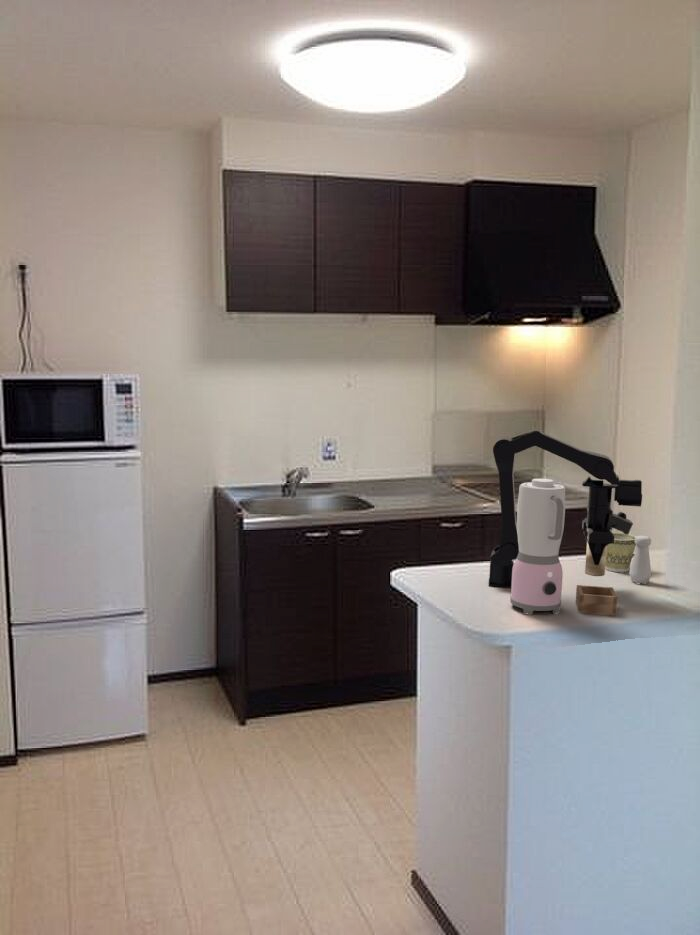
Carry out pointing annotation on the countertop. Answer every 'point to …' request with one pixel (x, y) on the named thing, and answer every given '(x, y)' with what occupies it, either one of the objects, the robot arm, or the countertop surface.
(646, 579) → the salt shaker
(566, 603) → the countertop surface
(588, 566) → the beech peg
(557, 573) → the blender
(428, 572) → the countertop surface
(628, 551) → the ceramic cup
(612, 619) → the countertop surface
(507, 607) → the countertop surface
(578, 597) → the wooden square box
